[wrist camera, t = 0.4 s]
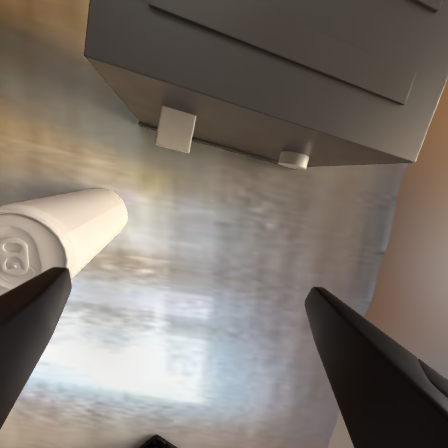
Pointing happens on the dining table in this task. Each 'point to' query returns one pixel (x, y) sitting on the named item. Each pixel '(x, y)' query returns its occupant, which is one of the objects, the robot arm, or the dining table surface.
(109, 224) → the beverage can
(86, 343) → the dining table surface
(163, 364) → the dining table surface
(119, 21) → the toaster
